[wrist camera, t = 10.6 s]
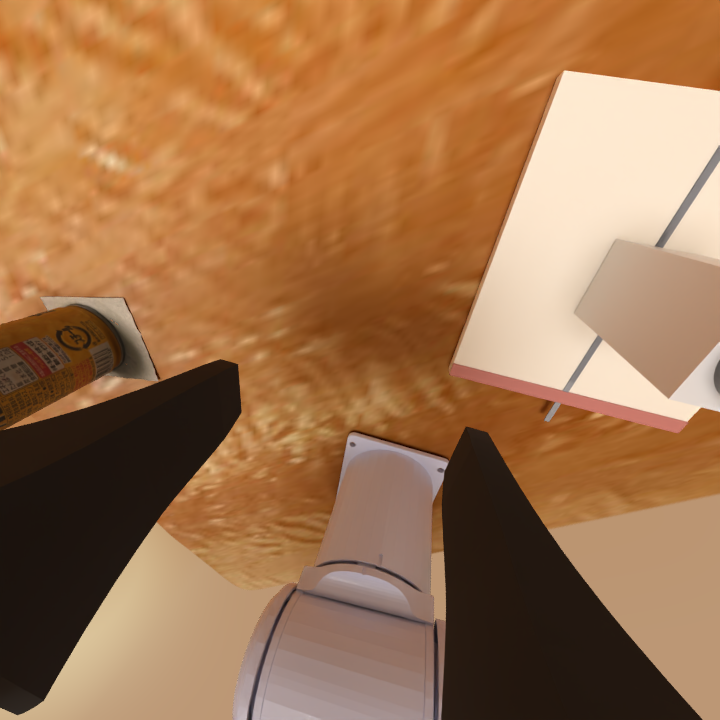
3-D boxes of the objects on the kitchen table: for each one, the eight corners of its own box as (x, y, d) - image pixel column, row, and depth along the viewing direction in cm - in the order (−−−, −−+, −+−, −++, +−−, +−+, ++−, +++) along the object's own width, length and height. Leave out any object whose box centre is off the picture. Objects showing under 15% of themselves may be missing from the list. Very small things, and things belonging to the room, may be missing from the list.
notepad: (651, 440, 19) (660, 451, 18) (441, 386, 20) (442, 393, 19) (995, 72, 10) (1042, 62, 9) (576, 24, 11) (587, 11, 10)
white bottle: (649, 330, 15) (854, 465, 8) (573, 313, 15) (697, 426, 8) (704, 255, 13) (1046, 339, 6) (616, 238, 13) (829, 296, 6)
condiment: (42, 296, 24) (-241, 371, 14) (125, 297, 23) (-134, 384, 12) (86, 372, 28) (-116, 476, 18) (161, 379, 26) (-17, 499, 16)
